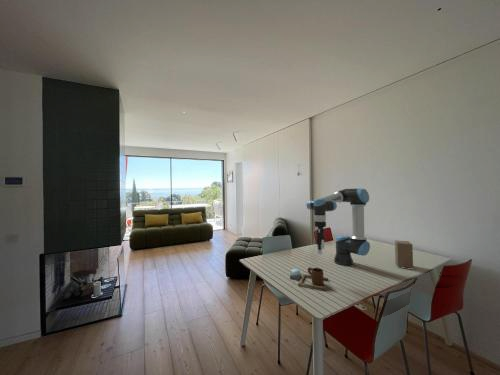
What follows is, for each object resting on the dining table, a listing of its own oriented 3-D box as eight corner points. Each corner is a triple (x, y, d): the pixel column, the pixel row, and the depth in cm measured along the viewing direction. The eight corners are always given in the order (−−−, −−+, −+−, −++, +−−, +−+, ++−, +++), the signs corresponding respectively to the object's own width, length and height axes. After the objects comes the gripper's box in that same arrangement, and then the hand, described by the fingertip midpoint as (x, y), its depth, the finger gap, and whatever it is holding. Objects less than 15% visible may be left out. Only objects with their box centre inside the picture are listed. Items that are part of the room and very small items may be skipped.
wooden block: (395, 263, 172) (394, 240, 173) (410, 265, 168) (409, 241, 168) (397, 267, 163) (397, 242, 164) (413, 269, 159) (412, 244, 159)
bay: (303, 276, 150) (303, 274, 150) (328, 280, 143) (328, 278, 143) (298, 285, 135) (298, 283, 135) (326, 290, 127) (326, 288, 127)
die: (310, 275, 152) (309, 269, 152) (314, 275, 151) (314, 269, 151) (310, 277, 148) (310, 271, 148) (315, 277, 148) (315, 271, 148)
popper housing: (292, 274, 153) (292, 272, 153) (301, 276, 150) (301, 273, 150) (289, 278, 146) (289, 275, 147) (299, 280, 143) (299, 277, 144)
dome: (292, 272, 152) (292, 268, 152) (300, 273, 150) (300, 269, 150) (290, 275, 147) (290, 271, 147) (299, 276, 144) (298, 272, 144)
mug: (304, 280, 142) (304, 267, 143) (311, 278, 146) (311, 265, 147) (318, 287, 132) (318, 272, 132) (326, 284, 136) (325, 270, 137)
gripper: (317, 218, 154) (318, 246, 154) (311, 223, 132) (312, 256, 131) (327, 218, 151) (328, 247, 150) (323, 224, 128) (325, 257, 128)
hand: (321, 251), depth 141 cm, fingers open, 13 cm apart
